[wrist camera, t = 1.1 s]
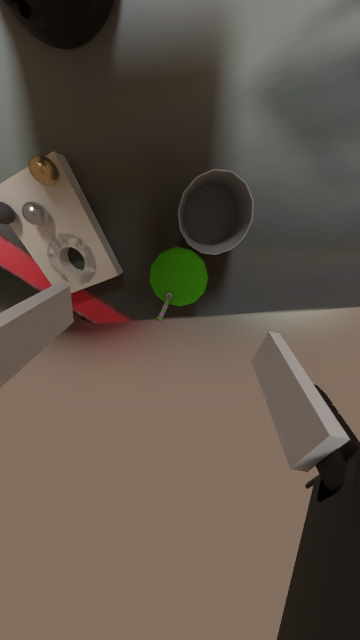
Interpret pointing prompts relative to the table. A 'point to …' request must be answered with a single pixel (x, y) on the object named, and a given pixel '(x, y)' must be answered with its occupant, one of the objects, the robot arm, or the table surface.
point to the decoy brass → (44, 170)
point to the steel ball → (35, 213)
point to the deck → (61, 228)
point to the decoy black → (6, 214)
